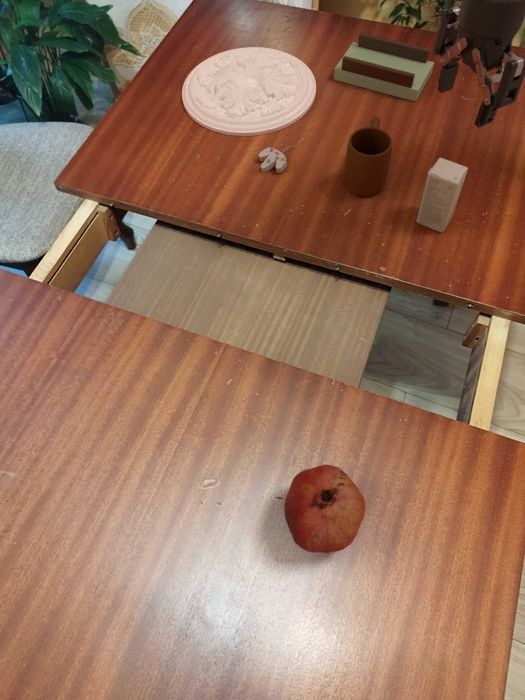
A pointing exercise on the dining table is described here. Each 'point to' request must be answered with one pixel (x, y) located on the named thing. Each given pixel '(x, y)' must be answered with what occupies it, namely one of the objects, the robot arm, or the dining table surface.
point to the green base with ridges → (385, 66)
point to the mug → (367, 159)
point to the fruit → (323, 509)
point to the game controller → (273, 159)
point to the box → (441, 194)
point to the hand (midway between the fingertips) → (462, 106)
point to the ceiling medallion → (249, 91)
